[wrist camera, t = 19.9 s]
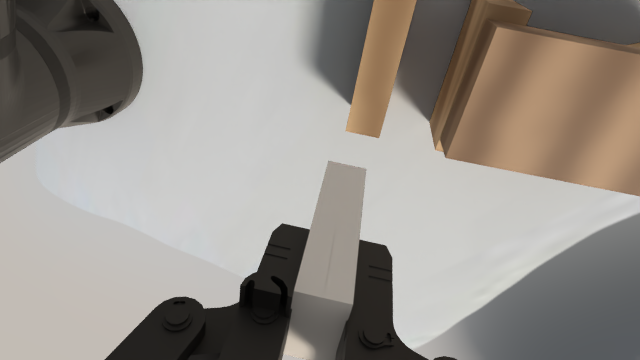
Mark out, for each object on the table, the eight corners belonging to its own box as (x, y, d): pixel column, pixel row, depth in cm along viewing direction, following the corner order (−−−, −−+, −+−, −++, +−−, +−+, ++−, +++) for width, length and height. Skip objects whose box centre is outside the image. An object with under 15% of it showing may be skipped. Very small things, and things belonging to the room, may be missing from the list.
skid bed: (351, 105, 39) (345, 131, 34) (379, -27, 33) (378, -19, 28) (459, 128, 39) (469, 157, 34) (510, -1, 32) (532, 11, 27)
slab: (440, 140, 33) (445, 157, 31) (486, 18, 28) (497, 27, 25) (624, 177, 33) (645, 197, 31) (707, 61, 28) (741, 74, 25)
